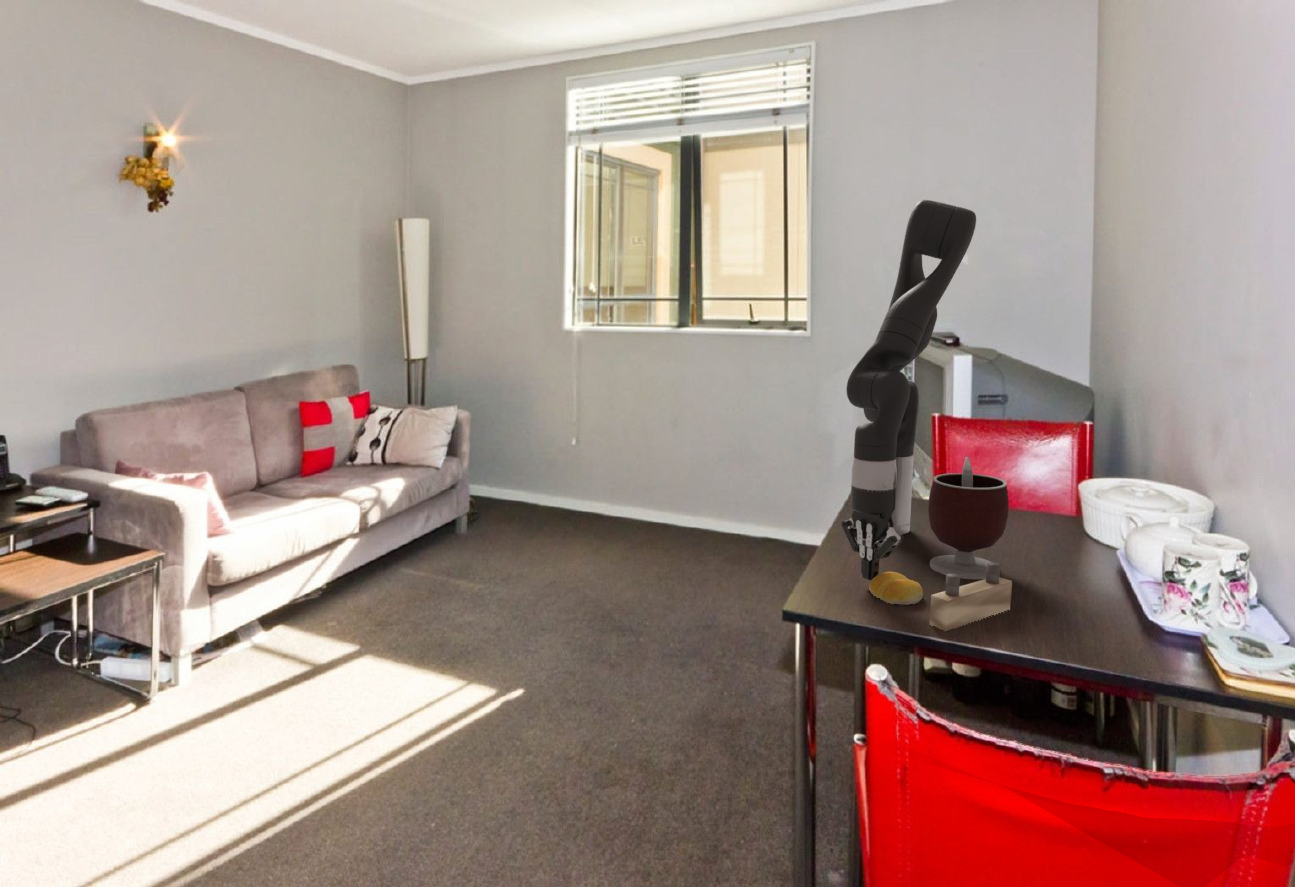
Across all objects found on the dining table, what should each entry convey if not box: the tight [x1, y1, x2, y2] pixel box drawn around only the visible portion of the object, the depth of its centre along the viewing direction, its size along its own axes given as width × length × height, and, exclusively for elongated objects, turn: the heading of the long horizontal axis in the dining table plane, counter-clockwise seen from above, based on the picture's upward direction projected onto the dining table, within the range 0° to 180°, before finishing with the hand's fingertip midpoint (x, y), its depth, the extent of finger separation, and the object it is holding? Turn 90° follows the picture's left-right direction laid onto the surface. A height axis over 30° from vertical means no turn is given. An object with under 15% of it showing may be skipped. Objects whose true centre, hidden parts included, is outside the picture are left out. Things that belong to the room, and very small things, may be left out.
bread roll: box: [868, 571, 924, 606], centre depth 136 cm, size 8×9×4 cm
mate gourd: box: [927, 456, 1010, 580], centre depth 150 cm, size 16×14×20 cm
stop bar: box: [929, 561, 1013, 632], centre depth 127 cm, size 3×16×8 cm, turn 121°
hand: (869, 578), depth 141 cm, fingers closed
